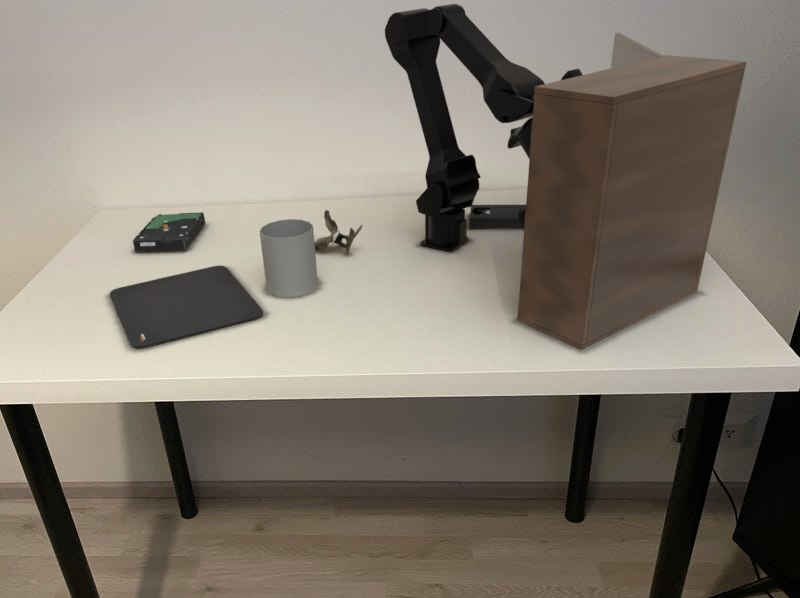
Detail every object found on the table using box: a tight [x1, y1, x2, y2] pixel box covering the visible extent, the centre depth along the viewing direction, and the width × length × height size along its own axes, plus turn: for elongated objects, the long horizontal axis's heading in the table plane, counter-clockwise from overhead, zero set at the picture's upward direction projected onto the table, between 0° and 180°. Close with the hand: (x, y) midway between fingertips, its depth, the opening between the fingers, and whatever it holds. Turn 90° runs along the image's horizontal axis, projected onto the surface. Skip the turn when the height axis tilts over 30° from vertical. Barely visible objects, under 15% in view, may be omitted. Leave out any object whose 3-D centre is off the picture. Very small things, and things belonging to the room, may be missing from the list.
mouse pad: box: [109, 265, 264, 349], centre depth 114 cm, size 23×20×1 cm
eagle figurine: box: [314, 209, 363, 256], centre depth 127 cm, size 8×7×9 cm
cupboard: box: [517, 54, 748, 351], centre depth 94 cm, size 11×26×32 cm, turn 124°
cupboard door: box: [610, 32, 664, 69], centre depth 115 cm, size 6×26×31 cm, turn 173°
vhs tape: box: [469, 204, 526, 230], centre depth 134 cm, size 14×8×2 cm, turn 78°
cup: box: [259, 218, 319, 299], centre depth 114 cm, size 8×8×10 cm
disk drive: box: [132, 211, 206, 253], centre depth 140 cm, size 10×3×15 cm
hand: (606, 249), depth 99 cm, fingers closed on soda can, 5 cm apart
